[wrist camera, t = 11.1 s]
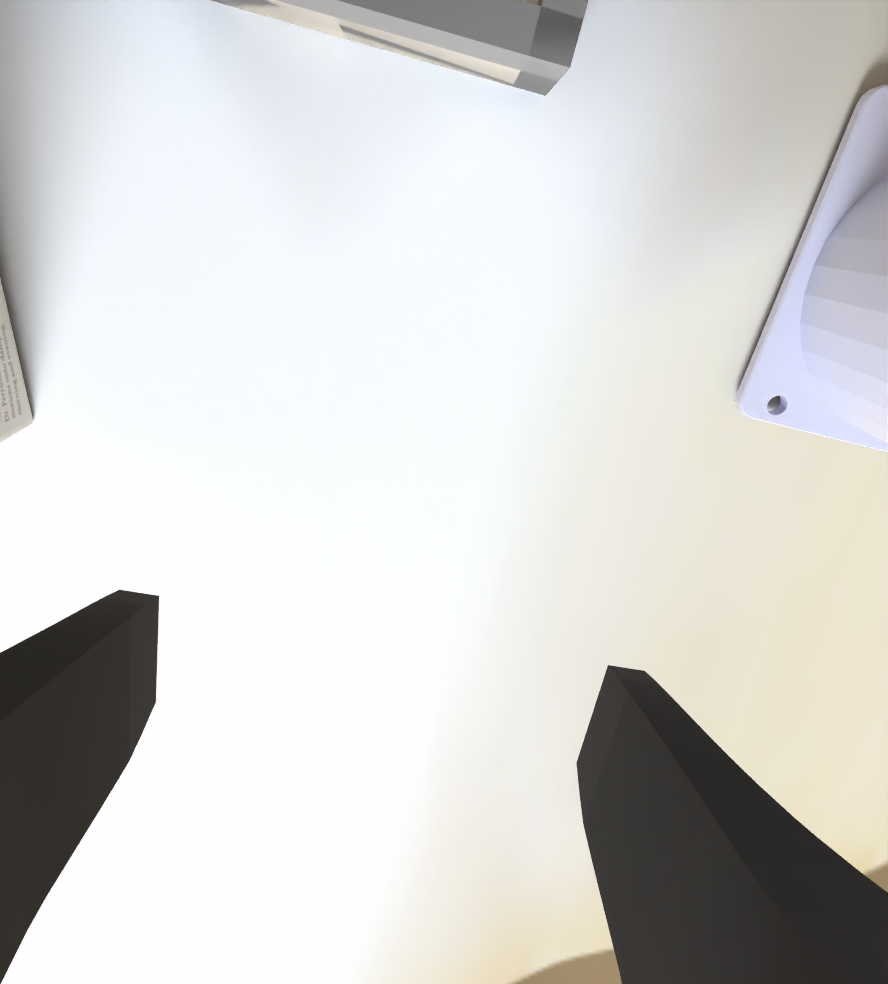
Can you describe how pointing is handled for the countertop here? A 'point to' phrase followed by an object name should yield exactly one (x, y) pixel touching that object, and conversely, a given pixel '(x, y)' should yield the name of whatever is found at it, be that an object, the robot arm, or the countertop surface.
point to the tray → (451, 32)
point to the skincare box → (11, 380)
